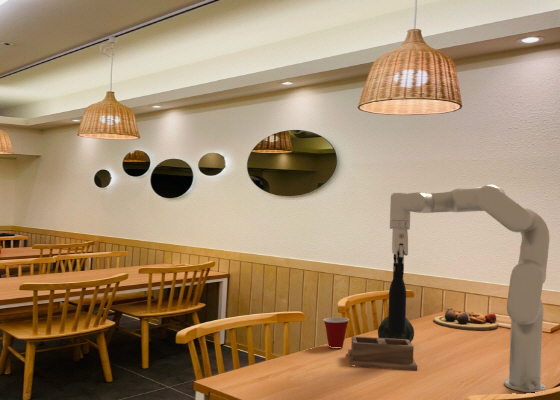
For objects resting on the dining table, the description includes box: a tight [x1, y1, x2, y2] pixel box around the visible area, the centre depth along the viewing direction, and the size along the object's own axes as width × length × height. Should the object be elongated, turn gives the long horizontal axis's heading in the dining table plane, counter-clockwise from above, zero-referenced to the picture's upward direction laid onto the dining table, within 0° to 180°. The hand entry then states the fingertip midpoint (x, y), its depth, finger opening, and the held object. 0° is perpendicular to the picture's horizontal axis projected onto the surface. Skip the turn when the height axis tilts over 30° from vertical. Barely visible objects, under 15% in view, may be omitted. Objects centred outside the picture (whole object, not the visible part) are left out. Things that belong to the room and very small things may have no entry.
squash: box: [377, 316, 415, 343], centre depth 226 cm, size 14×15×15 cm
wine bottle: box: [387, 251, 407, 332], centre depth 201 cm, size 6×6×30 cm
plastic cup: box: [322, 317, 350, 348], centre depth 219 cm, size 11×11×12 cm
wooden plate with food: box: [433, 308, 499, 331], centre depth 278 cm, size 32×32×8 cm
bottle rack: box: [347, 336, 418, 371], centre depth 201 cm, size 18×24×8 cm
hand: (398, 273), depth 201 cm, fingers closed on wine bottle, 3 cm apart
